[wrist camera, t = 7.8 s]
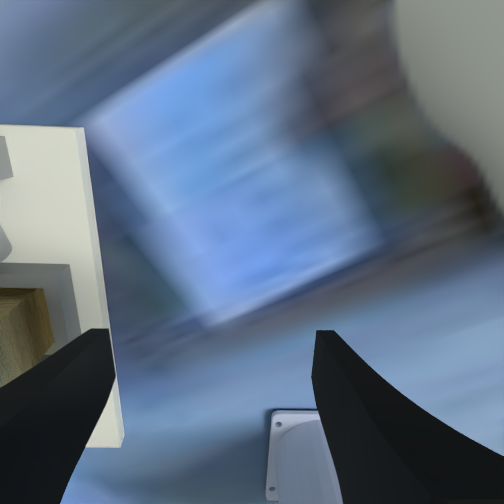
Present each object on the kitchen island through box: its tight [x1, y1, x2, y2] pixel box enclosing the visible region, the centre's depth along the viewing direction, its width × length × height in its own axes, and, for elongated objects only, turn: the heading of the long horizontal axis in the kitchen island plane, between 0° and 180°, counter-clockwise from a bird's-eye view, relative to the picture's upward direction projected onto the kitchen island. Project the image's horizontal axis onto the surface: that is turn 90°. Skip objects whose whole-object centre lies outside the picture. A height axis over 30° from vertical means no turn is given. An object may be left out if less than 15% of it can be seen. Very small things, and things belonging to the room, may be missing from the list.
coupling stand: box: [0, 124, 125, 448], centre depth 19 cm, size 22×10×5 cm, turn 178°
